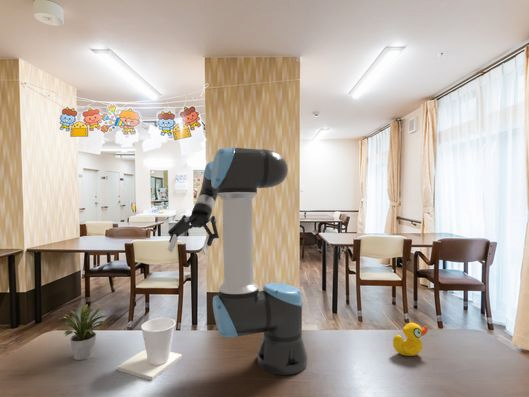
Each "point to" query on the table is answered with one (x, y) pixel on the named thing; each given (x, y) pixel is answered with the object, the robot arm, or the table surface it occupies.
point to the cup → (158, 339)
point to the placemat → (147, 365)
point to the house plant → (83, 333)
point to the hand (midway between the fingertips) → (186, 251)
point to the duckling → (410, 340)
